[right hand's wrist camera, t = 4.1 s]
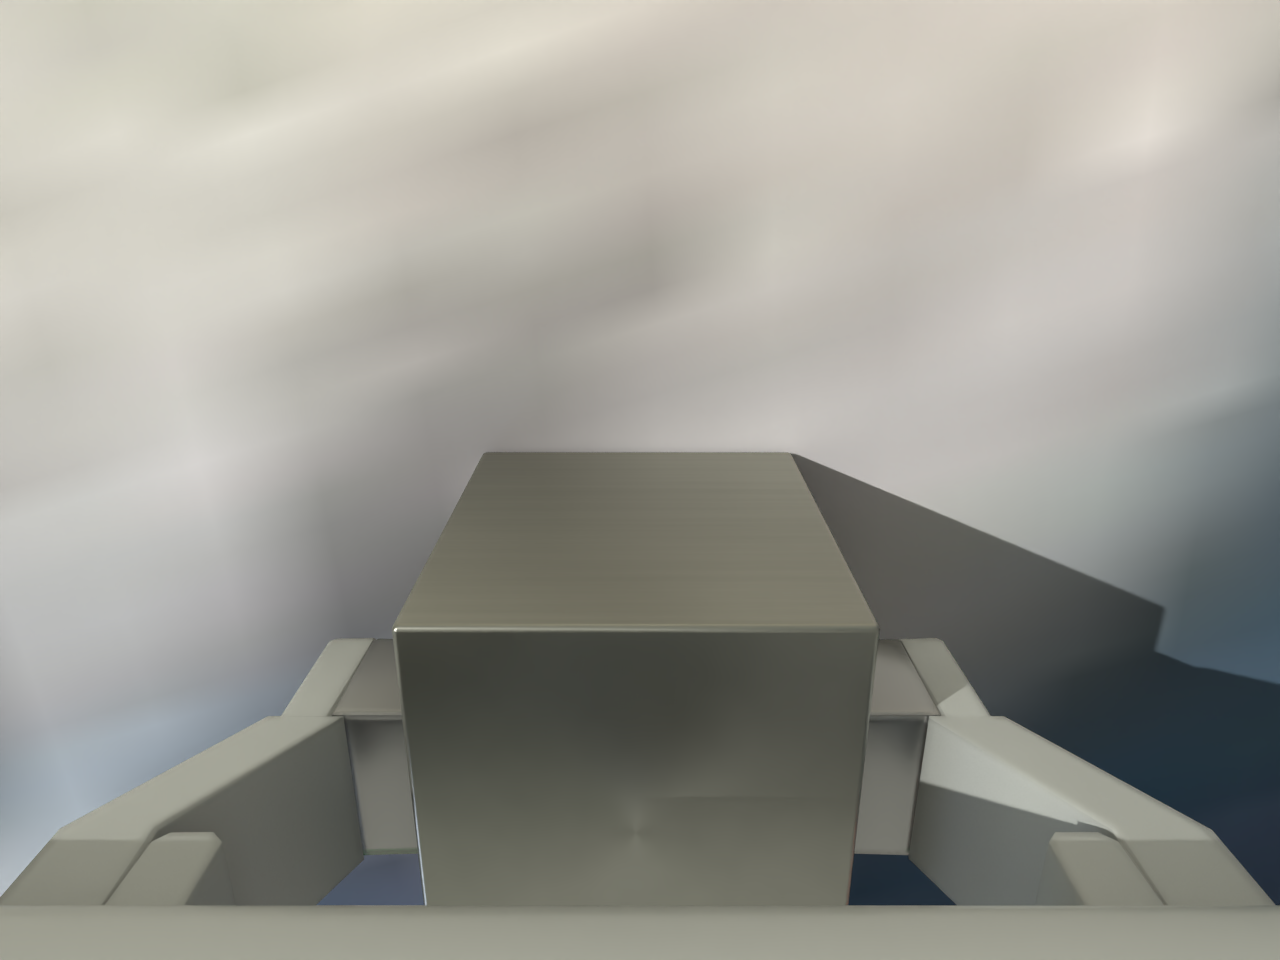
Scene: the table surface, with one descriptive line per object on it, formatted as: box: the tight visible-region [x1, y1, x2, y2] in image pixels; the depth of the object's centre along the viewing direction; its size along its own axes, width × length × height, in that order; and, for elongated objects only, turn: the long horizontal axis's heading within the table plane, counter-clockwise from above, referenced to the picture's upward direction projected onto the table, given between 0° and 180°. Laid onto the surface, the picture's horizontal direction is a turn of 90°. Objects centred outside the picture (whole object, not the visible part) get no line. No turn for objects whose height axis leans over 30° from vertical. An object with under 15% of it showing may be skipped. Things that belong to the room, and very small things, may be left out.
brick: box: [392, 452, 880, 905], centre depth 10 cm, size 4×4×5 cm
